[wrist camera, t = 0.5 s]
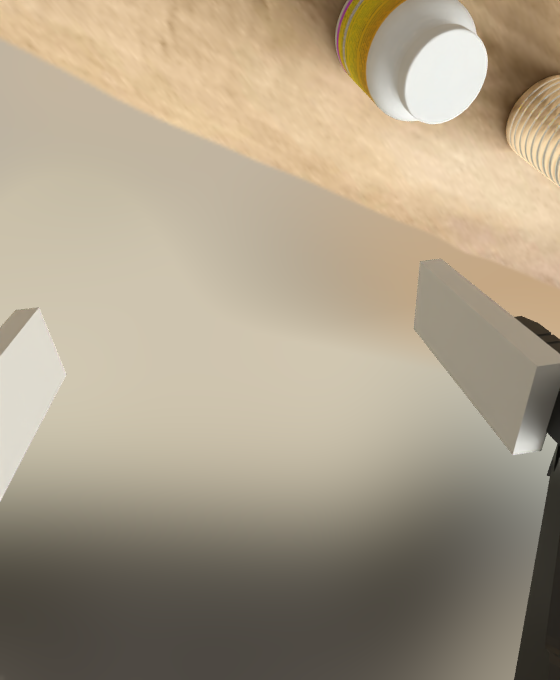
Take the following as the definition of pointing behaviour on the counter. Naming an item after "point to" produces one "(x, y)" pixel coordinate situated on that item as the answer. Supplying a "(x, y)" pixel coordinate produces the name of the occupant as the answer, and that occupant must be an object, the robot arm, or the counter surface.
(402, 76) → the supplement bottle
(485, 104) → the counter surface
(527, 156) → the water bottle
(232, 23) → the counter surface
